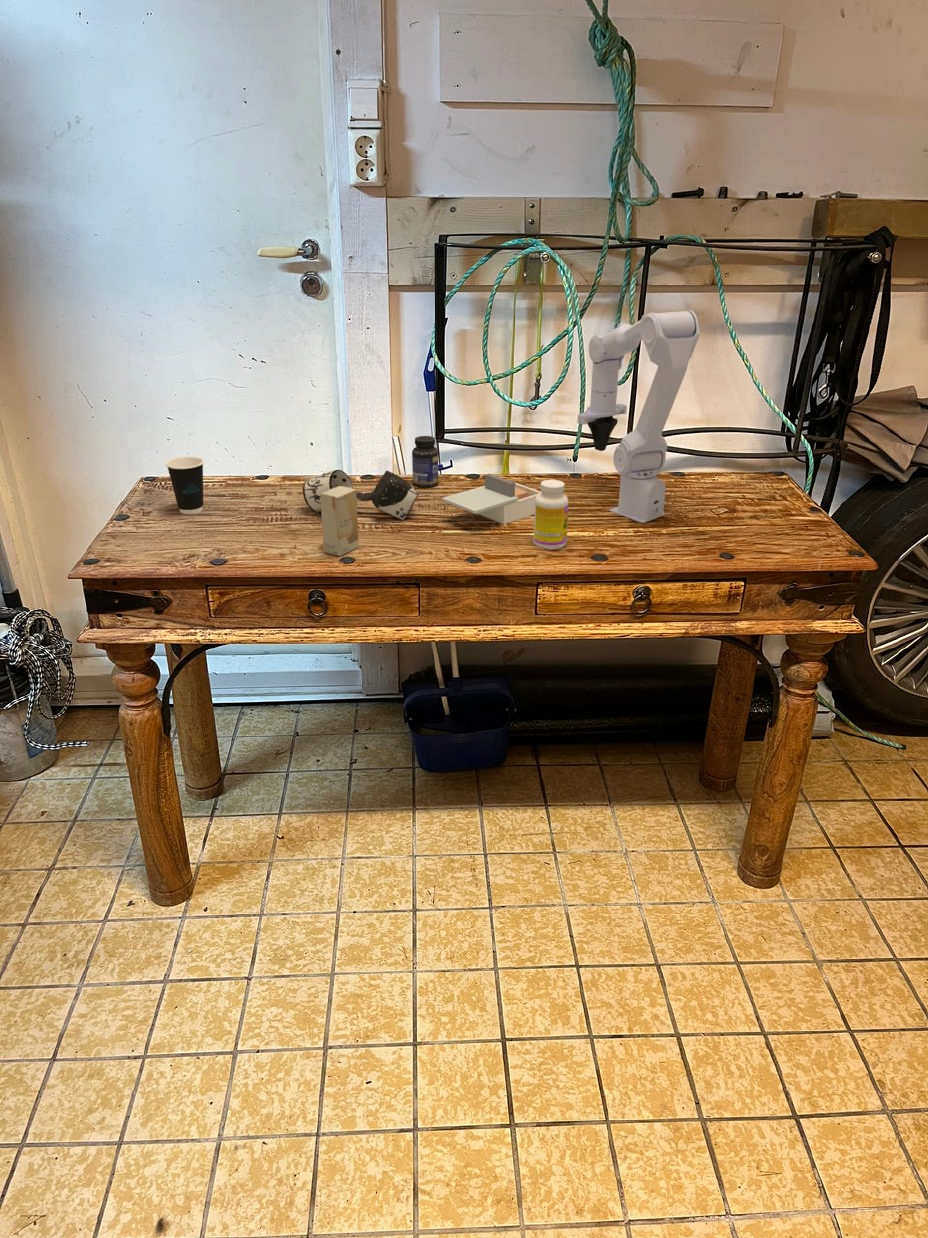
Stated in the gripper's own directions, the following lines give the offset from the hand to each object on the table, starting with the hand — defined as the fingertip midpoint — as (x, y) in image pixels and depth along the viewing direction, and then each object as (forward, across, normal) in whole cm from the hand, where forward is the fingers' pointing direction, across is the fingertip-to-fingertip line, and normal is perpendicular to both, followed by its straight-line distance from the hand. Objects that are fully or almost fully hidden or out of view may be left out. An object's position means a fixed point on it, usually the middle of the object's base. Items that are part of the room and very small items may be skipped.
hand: (600, 449), depth 216 cm
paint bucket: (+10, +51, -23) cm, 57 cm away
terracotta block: (+9, +25, -2) cm, 27 cm away
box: (+9, +27, -2) cm, 29 cm away
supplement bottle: (+10, +33, +16) cm, 38 cm away
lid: (+5, +35, -2) cm, 36 cm away
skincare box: (+10, +66, -9) cm, 67 cm away
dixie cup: (+10, +78, -49) cm, 93 cm away
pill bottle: (+10, +28, -29) cm, 41 cm away
